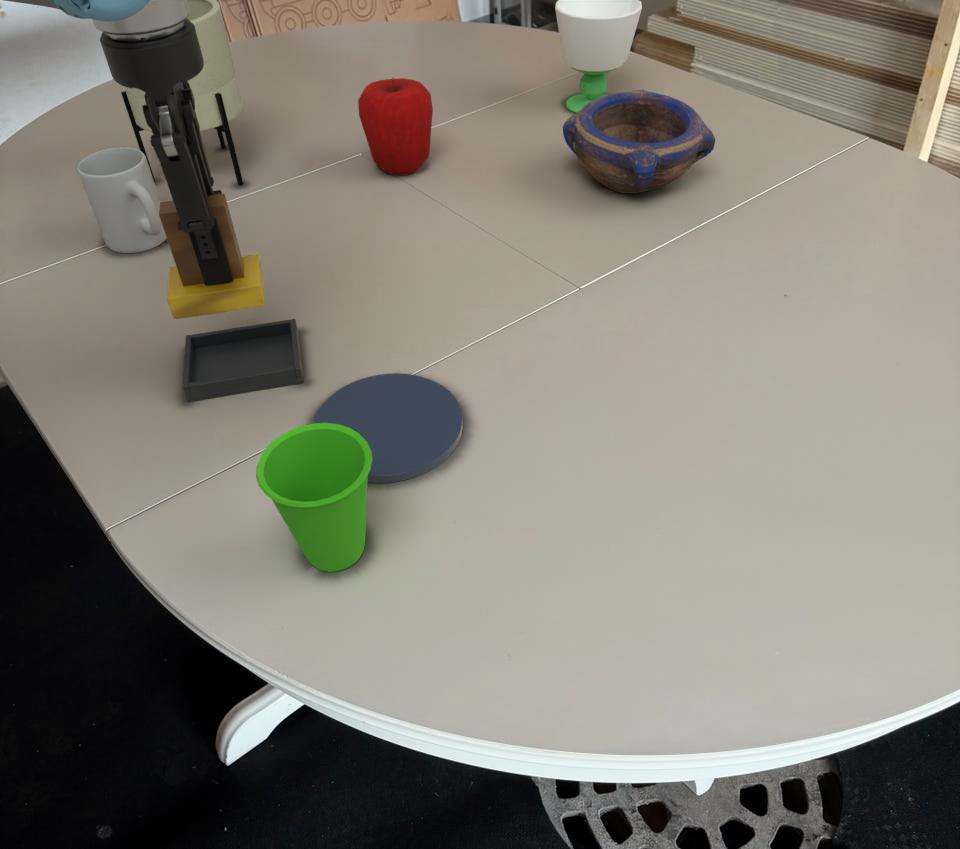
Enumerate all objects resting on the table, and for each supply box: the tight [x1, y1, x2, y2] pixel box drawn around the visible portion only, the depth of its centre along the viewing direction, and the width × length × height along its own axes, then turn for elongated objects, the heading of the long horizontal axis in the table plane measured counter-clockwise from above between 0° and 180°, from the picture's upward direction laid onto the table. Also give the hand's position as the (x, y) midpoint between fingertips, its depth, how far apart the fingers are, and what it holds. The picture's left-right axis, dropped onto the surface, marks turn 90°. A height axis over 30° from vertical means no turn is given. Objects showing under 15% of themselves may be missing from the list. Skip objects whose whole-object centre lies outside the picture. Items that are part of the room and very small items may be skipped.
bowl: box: [562, 89, 716, 194], centre depth 116 cm, size 18×18×10 cm
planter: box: [120, 0, 244, 187], centre depth 118 cm, size 15×16×23 cm
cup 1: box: [255, 423, 372, 573], centre depth 68 cm, size 9×9×11 cm
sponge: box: [159, 193, 266, 320], centre depth 81 cm, size 9×6×10 cm, turn 103°
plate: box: [312, 373, 464, 484], centre depth 82 cm, size 15×15×1 cm
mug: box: [76, 146, 167, 254], centre depth 107 cm, size 12×8×11 cm
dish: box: [181, 318, 305, 403], centre depth 90 cm, size 12×9×2 cm
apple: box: [357, 77, 434, 176], centre depth 120 cm, size 11×10×14 cm
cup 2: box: [554, 0, 643, 114], centre depth 134 cm, size 14×14×16 cm
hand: (219, 272), depth 83 cm, fingers closed on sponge, 2 cm apart
